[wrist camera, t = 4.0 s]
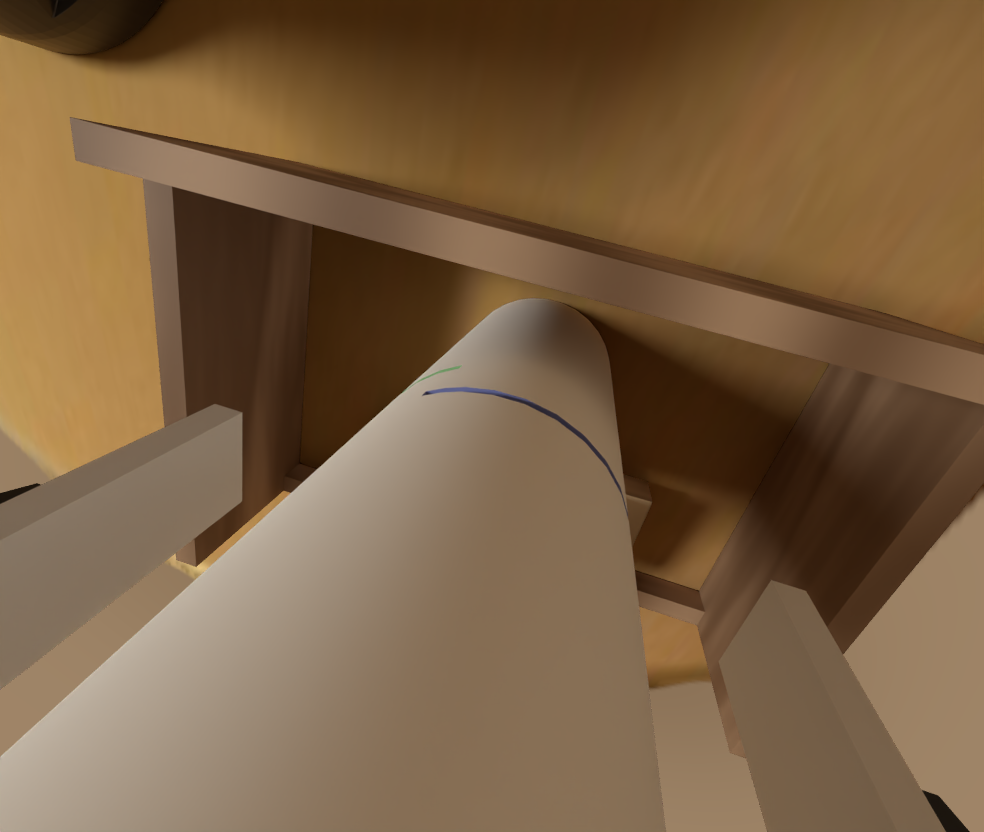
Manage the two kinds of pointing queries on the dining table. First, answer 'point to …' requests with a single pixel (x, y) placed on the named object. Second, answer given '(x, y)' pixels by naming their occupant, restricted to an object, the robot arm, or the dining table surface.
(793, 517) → the rack
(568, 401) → the cylindrical container
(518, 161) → the dining table surface
